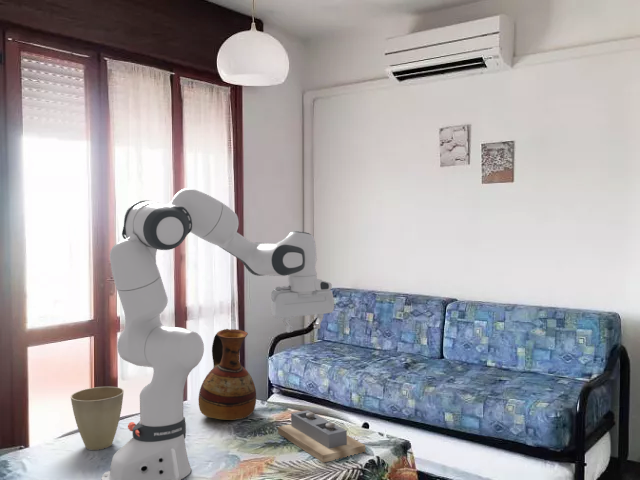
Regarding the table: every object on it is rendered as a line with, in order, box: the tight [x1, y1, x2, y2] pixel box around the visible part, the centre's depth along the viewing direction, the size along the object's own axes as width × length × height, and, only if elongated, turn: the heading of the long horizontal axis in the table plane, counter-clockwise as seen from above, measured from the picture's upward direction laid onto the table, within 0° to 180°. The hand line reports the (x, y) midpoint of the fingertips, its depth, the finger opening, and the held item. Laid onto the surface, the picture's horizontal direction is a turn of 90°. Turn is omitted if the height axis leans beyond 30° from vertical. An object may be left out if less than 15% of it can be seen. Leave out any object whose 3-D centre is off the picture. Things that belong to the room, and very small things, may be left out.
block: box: [290, 409, 348, 449], centre depth 177 cm, size 6×23×4 cm, turn 30°
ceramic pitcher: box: [198, 328, 257, 421], centre depth 203 cm, size 20×20×30 cm
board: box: [277, 411, 367, 464], centre depth 176 cm, size 14×28×7 cm, turn 30°
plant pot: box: [70, 386, 124, 451], centre depth 177 cm, size 15×15×16 cm
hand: (303, 330), depth 179 cm, fingers open, 8 cm apart
